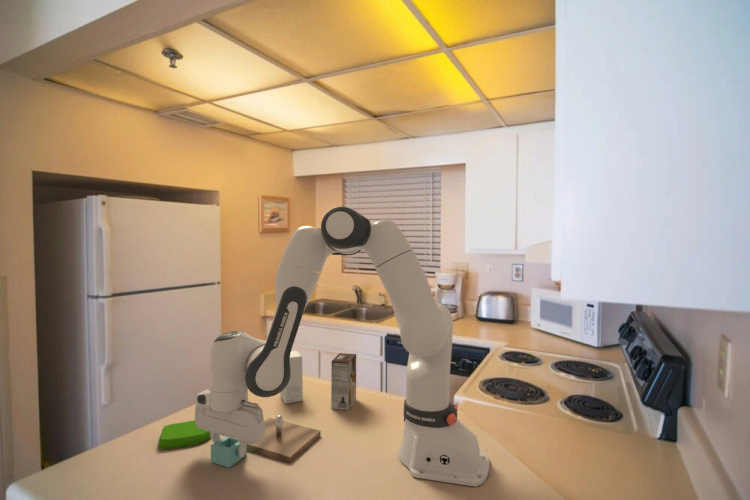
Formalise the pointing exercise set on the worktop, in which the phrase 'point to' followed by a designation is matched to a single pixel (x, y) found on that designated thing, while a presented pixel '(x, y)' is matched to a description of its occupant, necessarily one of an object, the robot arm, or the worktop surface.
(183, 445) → the spray bottle
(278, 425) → the clear glass vial
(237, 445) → the teal square ring
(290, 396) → the skincare box
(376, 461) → the worktop surface
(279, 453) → the walnut board
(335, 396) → the coffee box
